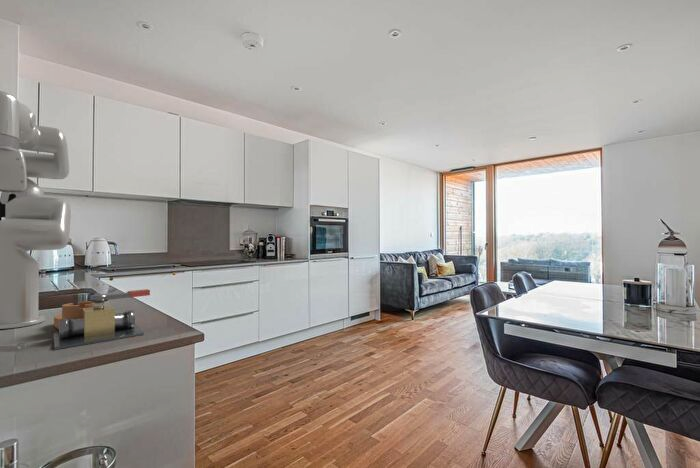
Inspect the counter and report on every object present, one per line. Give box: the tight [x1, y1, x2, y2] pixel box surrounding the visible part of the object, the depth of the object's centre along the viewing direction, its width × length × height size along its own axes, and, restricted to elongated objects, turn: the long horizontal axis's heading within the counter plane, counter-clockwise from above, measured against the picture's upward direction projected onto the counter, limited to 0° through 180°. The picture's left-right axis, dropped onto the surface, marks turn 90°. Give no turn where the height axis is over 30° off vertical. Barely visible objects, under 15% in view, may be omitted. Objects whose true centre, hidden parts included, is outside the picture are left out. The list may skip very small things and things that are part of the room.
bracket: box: [53, 300, 93, 330], centre depth 97 cm, size 18×8×7 cm, turn 51°
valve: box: [53, 301, 145, 351], centre depth 89 cm, size 15×18×9 cm
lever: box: [89, 288, 151, 302], centre depth 94 cm, size 14×4×2 cm, turn 138°
